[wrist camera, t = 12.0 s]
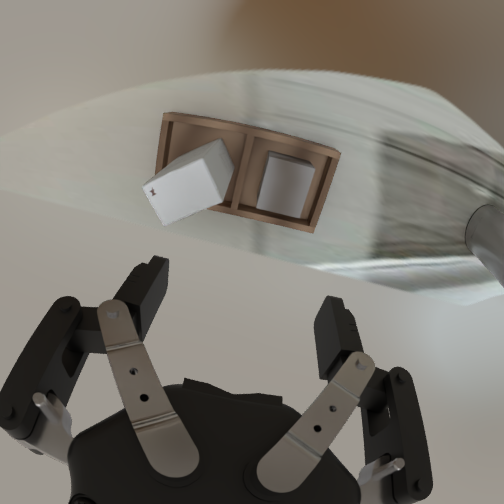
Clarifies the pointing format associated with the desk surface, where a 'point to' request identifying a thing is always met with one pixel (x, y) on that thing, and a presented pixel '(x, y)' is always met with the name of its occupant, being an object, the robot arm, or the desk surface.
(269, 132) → the wooden divided tray
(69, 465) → the robot arm
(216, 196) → the skincare box
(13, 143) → the desk surface
